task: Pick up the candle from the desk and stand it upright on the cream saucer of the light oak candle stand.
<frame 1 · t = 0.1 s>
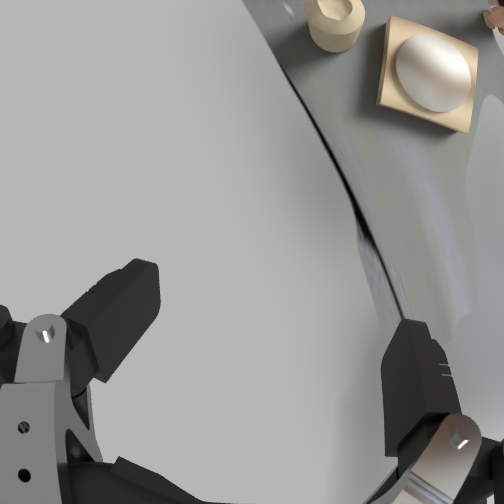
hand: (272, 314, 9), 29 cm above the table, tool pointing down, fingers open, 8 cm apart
candle: (333, 33, 27), on the table
grandmother figurine: (492, 22, 19), on the table
candle stand: (425, 75, 26), on the table
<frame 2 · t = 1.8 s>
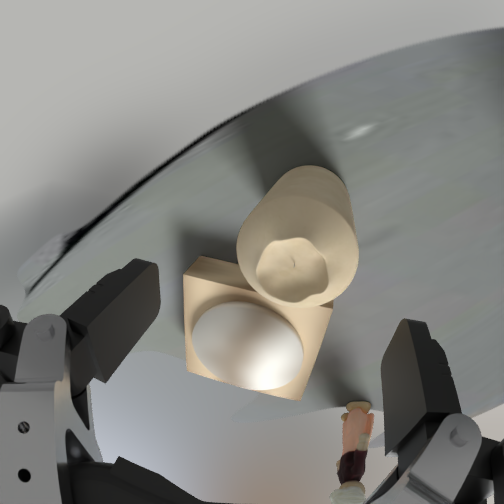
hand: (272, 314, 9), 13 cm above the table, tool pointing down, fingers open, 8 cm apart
candle: (311, 202, 21), on the table
grandmother figurine: (357, 408, 29), on the table
candle stand: (257, 323, 26), on the table
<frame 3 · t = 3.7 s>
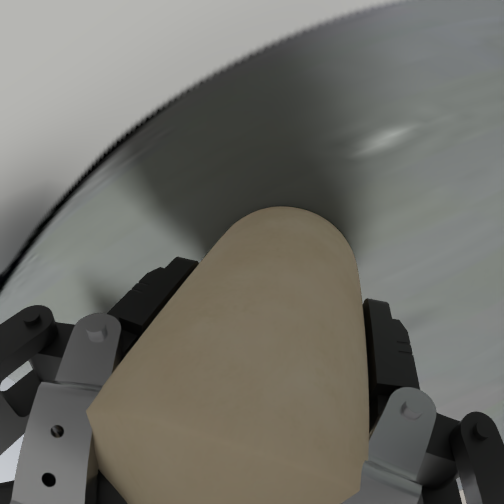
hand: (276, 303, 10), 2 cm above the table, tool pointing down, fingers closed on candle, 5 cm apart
candle: (286, 271, 12), on the table, touching gripper
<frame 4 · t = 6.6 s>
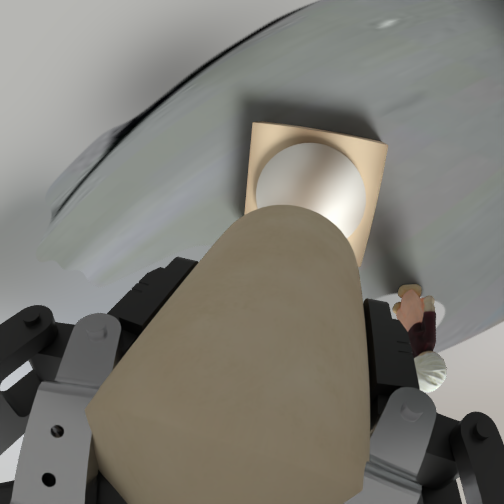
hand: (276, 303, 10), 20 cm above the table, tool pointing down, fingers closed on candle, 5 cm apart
candle: (286, 269, 12), point 17 cm above the table, touching gripper
grandmother figurine: (408, 295, 30), on the table
candle stand: (313, 187, 27), on the table
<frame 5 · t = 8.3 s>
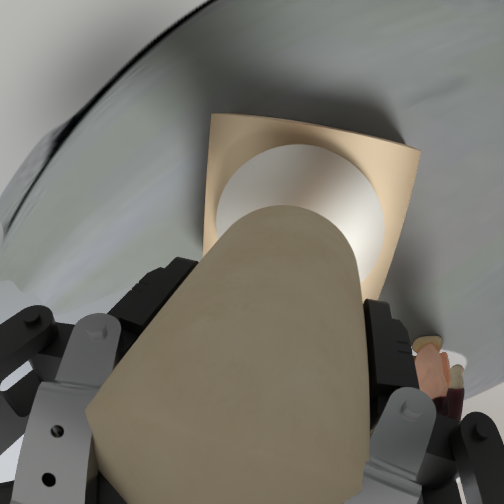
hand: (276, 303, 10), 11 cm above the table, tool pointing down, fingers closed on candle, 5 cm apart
candle: (286, 270, 12), point 8 cm above the table, touching gripper
grandmother figurine: (424, 348, 22), on the table
candle stand: (305, 209, 19), on the table
when the fingers open (7 cm above the table, at t = 9.9 s): candle drops 1 cm, resting on candle stand.
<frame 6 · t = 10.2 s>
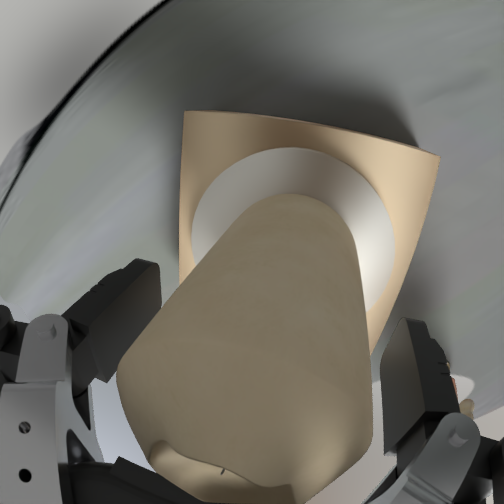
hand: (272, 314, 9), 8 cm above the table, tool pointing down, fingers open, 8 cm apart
candle: (292, 253, 13), point 4 cm above the table, touching candle stand
candle stand: (299, 223, 16), on the table
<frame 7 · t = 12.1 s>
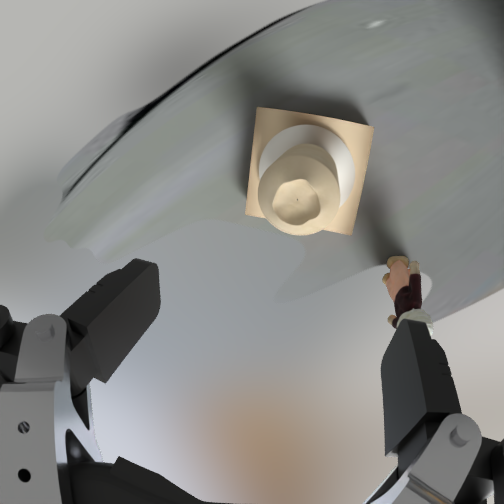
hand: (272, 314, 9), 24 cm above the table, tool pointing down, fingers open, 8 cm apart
candle: (307, 171, 27), point 4 cm above the table, touching candle stand
grandmother figurine: (396, 267, 33), on the table
candle stand: (309, 166, 31), on the table
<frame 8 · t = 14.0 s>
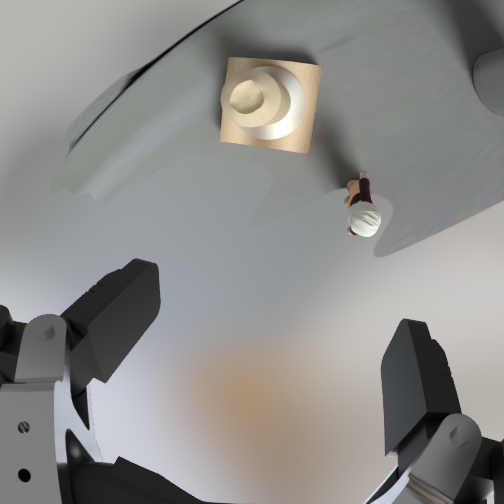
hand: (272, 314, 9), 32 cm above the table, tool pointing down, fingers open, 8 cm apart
candle: (267, 102, 32), point 4 cm above the table, touching candle stand
grandmother figurine: (356, 191, 38), on the table
candle stand: (272, 103, 35), on the table
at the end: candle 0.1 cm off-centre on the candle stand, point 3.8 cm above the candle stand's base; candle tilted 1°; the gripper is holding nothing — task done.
